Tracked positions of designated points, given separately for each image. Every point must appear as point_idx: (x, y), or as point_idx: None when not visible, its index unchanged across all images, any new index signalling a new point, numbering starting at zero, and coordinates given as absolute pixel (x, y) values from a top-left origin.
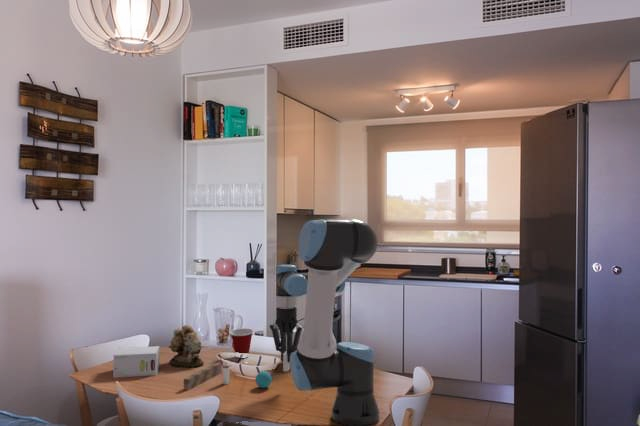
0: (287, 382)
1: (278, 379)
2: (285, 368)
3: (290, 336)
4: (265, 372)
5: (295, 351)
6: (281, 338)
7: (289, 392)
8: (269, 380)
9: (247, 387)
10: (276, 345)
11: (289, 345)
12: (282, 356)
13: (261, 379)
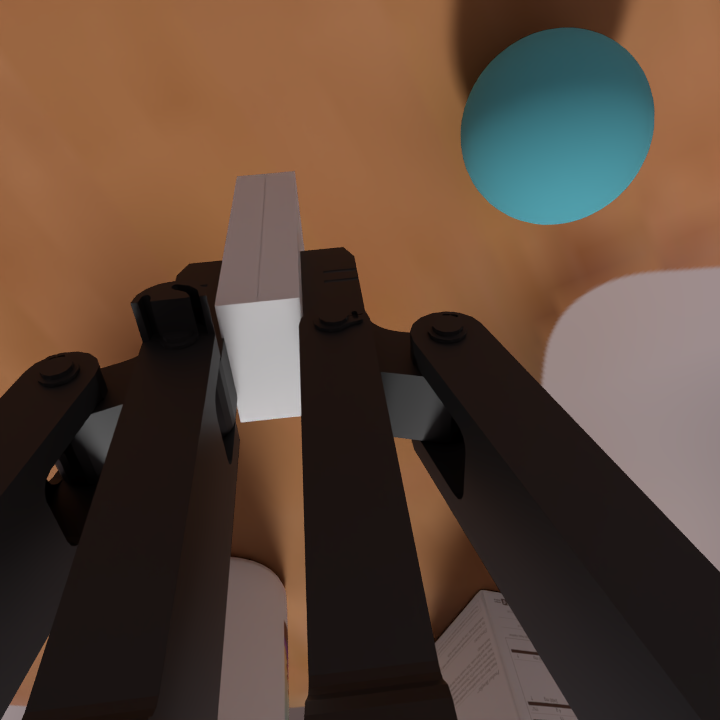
0: (374, 323)
1: None
2: (258, 190)
3: (52, 706)
4: (557, 152)
5: (502, 691)
6: (381, 558)
7: (200, 74)
8: (470, 112)
9: (691, 40)
10: (496, 381)
11: (122, 442)
12: (329, 288)
13: (559, 43)
